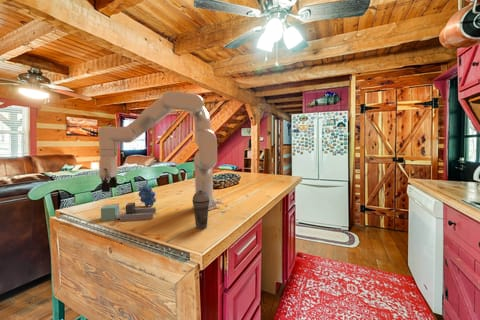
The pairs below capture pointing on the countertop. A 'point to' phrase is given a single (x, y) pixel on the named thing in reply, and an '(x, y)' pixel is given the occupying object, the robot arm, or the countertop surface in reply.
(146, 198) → the grapes
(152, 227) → the countertop surface
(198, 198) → the beverage cup
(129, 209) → the plunger
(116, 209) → the block
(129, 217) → the channel
